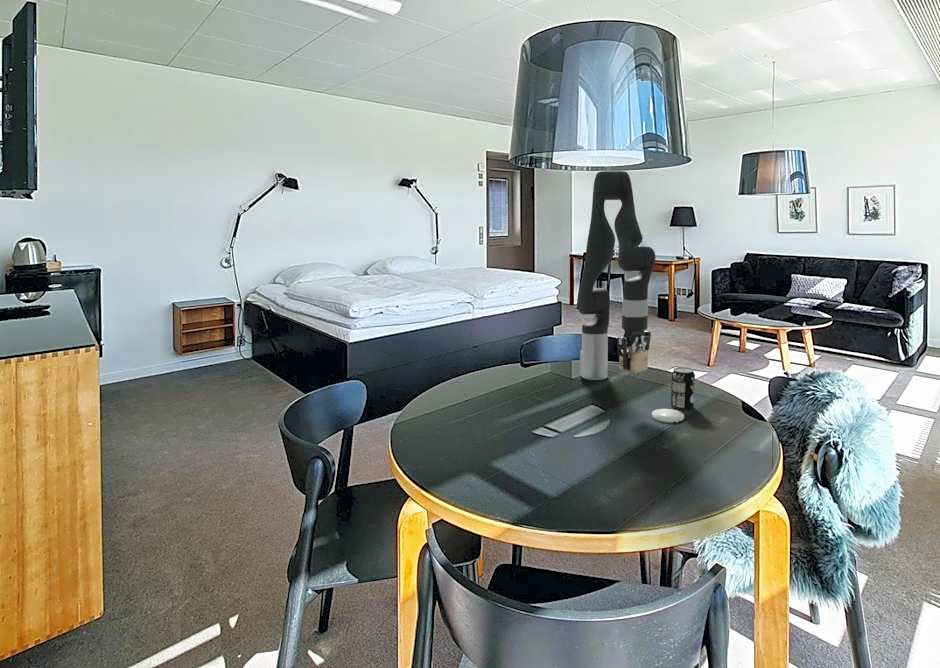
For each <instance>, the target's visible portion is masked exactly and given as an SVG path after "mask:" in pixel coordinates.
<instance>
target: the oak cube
mask: <svg viewBox="0 0 940 668" xmlns="http://www.w3.org/2000/svg"><path fill="white" fill-rule="evenodd" d="M621 351H622V352H623V350H621ZM628 351H629V350H627V354H628ZM630 358H631V365H630V370H626V369H624V368H623V357H621V356H618V359H619V361H618V363H619V364H618V369H619V370H621V371H624V372H629V373H633V374H638V373H640V372H644V371H647V370H648V368H649V367H648V363H649V362H648V361H649V360H648V359H649V350H644V349H643V350H642V349H639V348H635V349H634V351H633V352H632V353H631V357H630Z"/></svg>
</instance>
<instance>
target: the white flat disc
mask: <svg viewBox="0 0 940 668" xmlns="http://www.w3.org/2000/svg"><path fill="white" fill-rule="evenodd" d="M651 418H652V419H653V420H654V421H657V422H662V423H666V424H667V423H668V424H669V423H670V424H674V423H673V422H676V423H680V422H679V421H681V422H683V421H684V420H685V414H684V413H683V412H682V411H680V410H678V409H671V408H657V409H655V410H652V411H651ZM683 419H684V420H683ZM682 420H683V421H682Z"/></svg>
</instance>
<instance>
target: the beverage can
mask: <svg viewBox="0 0 940 668" xmlns="http://www.w3.org/2000/svg"><path fill="white" fill-rule="evenodd" d="M695 384H696V374H695V373H694V368H691V367H688V366H687V367H685V366H681V367H674V368H673V371H672V373H671V391H670V392H671V393H670V404H671V406H672V407H673V408H674V407H675V408H674V409H676V408H678V409H677V410H681V409H688V410H691V409H692V408H693V407H694V405H695ZM690 408H691V409H690Z"/></svg>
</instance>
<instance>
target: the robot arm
mask: <svg viewBox="0 0 940 668" xmlns="http://www.w3.org/2000/svg"><path fill="white" fill-rule="evenodd" d="M593 181H594V182H593V188H592V191H593V192H592V202H591V203H592V204H591V215H590V216H591V217H590V224H589V230H588V236H587V242H586V248H585V260H584V265H583V272H582V276H581V281H580V285H579V290H578V294H577V299H576V300H577V302H576V303H577V306H576V307H577V310H578V311H579V313H580V314H581V315H584V316H585V315H594V316H593V318H591V319H590V320H589V321H586V322H584V323H583V324H582V325H581V350H580V352H579V376H580V377H582V378H583V379H586V380H588V381H602V380H605V379H607V378H608V355H609V354H608V345H609V344H608V343H609V342H608V341H609V340H608V339H609V332H608V331H609V329H608V328H609V325H610V310H611V296H610V293H609V291H608V289H607V288H604V287H598V288H594V287H595V284H596V282H597V280H598V278H599V276H600V275H601V274H602V273H603V272H604V270H605V269H606V268H607V267H608V265H609V264H610V262H611V260H612V259H613V256H614V252H615V251H614V250H615V243H616V238H617V241H618V256H617V264H618V266H619V268H620V269H621V270H622V271H623V272H624V271H625V272H638V271H639V272H638V274H637V275H636V276H634V277H632V278H628V279H626V280H624V282H623V287H622V288H623V290H622V291H623V295H622V296H623V297H622V306H621V329H623V330H624V333H623V336H622V337H617V338H616V345H617V347H616V348H617V356H618V357H619V356H621V357H623V368H624V369H626V370H630V365H631V358H630V357H631V353H632V352H633V351H634V349H635V348H639V349H642V350H643V349H644V350H648V351H649V350H650V342H651V336H652V331H650V330H649V331H647V330H648V321H649V302H648V301H649V300H648V297H649V295H648V294H649V293H648V292H649V283H650V279H651V276H652V273H653V271H654V267H655V263H656V259H657V257H656V252H655V250H654V249H653V248H652V247H651V246H646V245H645V246H643V245H642V246H640V245H641V243H642V242H643V235H642V232H641V228H640V226H639V223H638V220H637V216H636V215H637V214H636V208H635V202H634V201H635V199H634V192H633V186H632V181H631V178H630V175H629V173H628V172H627V171H624V170H599V171H598V172H597V173H596V175H595V177H594V180H593ZM605 201H621V206H620V208H619V211H618V212H617V215H616V217H615V219H614V224H613V225H614V231H613V229H612V227H611V224H610V223H609V221H608V219H607V215H606V212H605V204H606V203H605ZM614 232H615V233H614ZM615 234H616V236H615ZM621 350H623V352H622V351H621ZM627 350H629V351H628V354H627Z"/></svg>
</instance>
